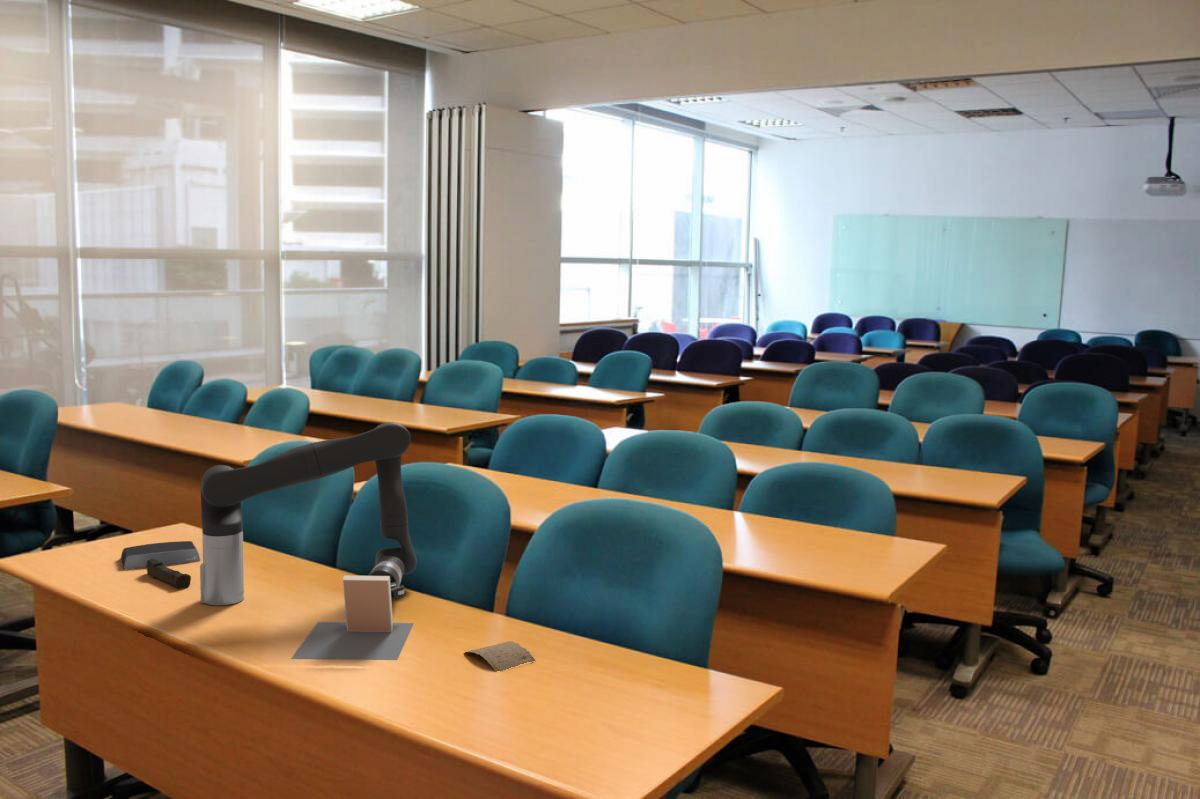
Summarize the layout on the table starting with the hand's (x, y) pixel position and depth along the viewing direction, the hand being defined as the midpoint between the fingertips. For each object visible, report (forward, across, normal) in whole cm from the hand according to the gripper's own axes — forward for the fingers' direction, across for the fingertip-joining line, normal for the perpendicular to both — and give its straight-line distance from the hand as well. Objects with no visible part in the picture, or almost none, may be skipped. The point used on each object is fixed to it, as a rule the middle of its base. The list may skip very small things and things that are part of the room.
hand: (370, 603), depth 215 cm
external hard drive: (-56, -69, +8) cm, 89 cm away
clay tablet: (+14, +30, +8) cm, 34 cm away
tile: (-1, 0, +6) cm, 6 cm away
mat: (+5, -2, +7) cm, 9 cm away
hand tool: (-36, -60, +8) cm, 71 cm away
